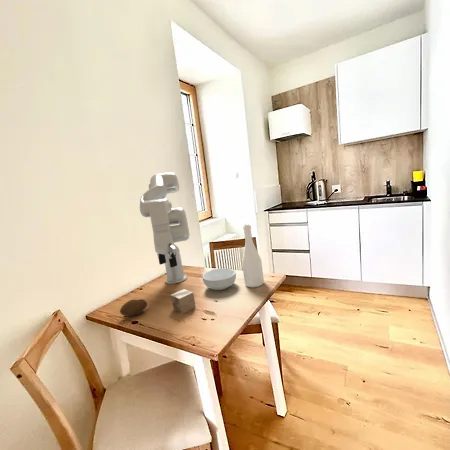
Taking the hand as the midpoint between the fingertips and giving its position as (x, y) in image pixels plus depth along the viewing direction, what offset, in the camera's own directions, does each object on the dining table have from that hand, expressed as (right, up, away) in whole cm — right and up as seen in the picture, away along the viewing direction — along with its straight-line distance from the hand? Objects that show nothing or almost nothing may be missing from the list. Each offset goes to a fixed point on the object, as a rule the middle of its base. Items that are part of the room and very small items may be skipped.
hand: (168, 265), depth 116 cm
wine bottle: (+40, -11, +11) cm, 43 cm away
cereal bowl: (+24, -13, +14) cm, 31 cm away
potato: (-14, -22, -3) cm, 26 cm away
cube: (+8, -18, -4) cm, 20 cm away
